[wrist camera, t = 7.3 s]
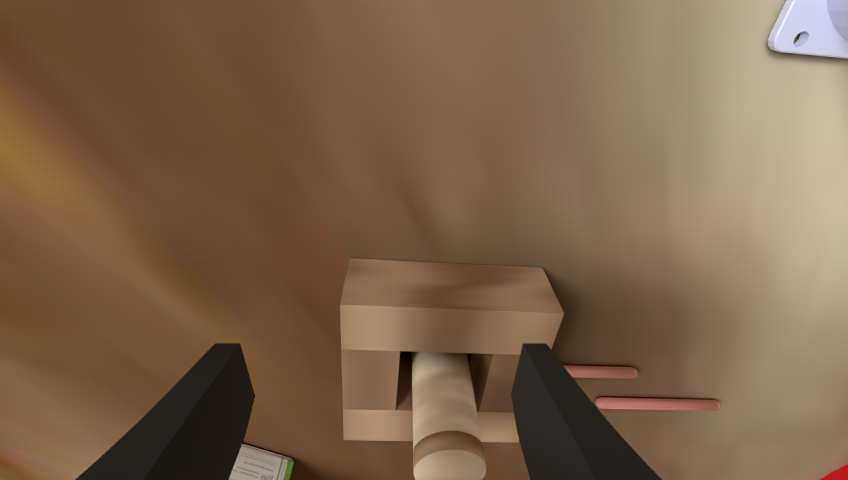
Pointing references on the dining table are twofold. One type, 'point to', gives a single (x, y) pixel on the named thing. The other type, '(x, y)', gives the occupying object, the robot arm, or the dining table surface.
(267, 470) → the syrup box
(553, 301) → the wooden square frame
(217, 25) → the dining table surface
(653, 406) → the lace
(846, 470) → the kitchen timer
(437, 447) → the tan round log
